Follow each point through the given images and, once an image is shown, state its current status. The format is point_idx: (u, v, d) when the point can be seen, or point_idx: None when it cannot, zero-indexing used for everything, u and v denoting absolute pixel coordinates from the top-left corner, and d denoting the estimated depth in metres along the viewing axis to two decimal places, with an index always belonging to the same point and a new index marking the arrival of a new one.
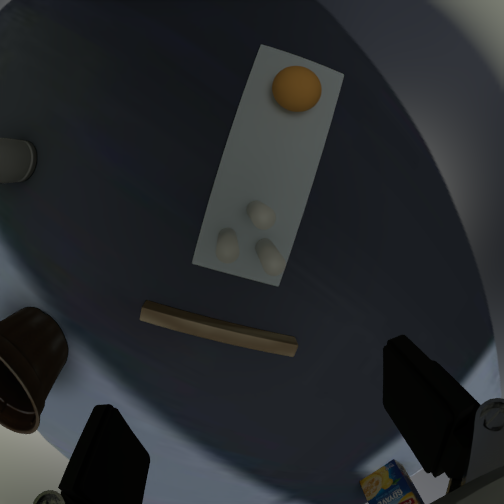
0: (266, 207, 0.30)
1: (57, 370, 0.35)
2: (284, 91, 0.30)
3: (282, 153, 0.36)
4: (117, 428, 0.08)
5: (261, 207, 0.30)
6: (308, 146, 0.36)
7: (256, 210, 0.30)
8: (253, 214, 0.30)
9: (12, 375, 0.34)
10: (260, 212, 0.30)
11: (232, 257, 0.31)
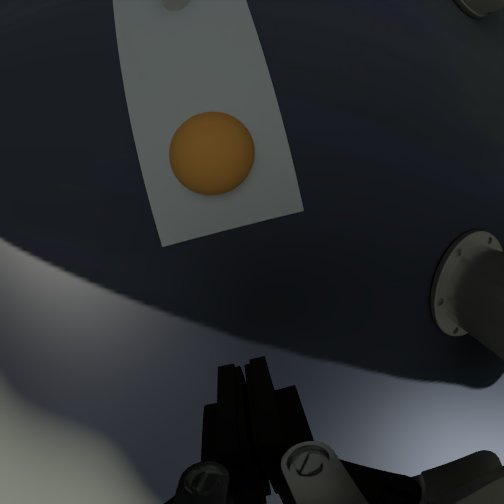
0: None
1: None
2: (227, 120, 0.18)
3: (179, 70, 0.21)
4: (244, 386, 0.09)
5: None
6: (149, 102, 0.21)
7: None
8: None
9: None
10: None
11: None
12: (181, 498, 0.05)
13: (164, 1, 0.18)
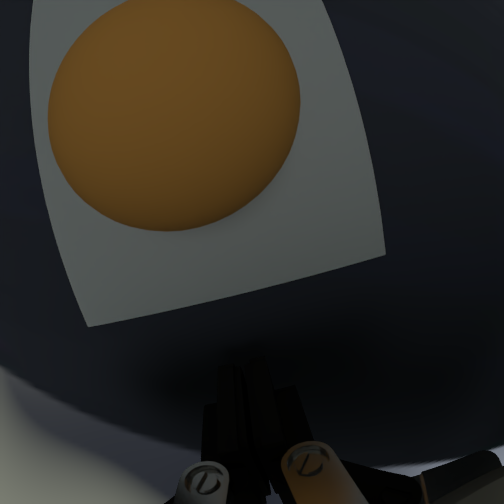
0: None
1: None
2: None
3: None
4: (244, 386, 0.09)
5: None
6: (65, 32, 0.08)
7: None
8: None
9: None
10: None
11: None
12: (181, 498, 0.05)
13: None
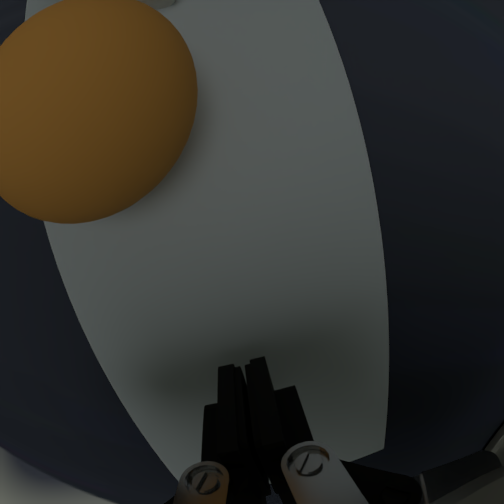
0: None
1: None
2: (154, 169, 0.06)
3: (181, 257, 0.10)
4: (244, 386, 0.09)
5: None
6: (125, 328, 0.10)
7: None
8: None
9: None
10: None
11: None
12: (181, 498, 0.05)
13: None
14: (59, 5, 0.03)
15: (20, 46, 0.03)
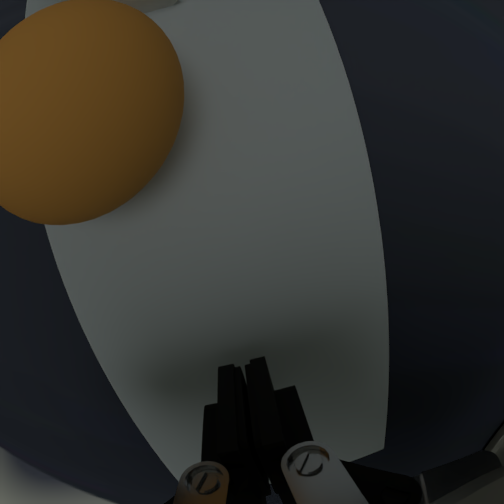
0: None
1: None
2: (132, 171, 0.06)
3: (181, 257, 0.10)
4: (244, 386, 0.09)
5: None
6: (125, 328, 0.10)
7: None
8: None
9: None
10: None
11: None
12: (181, 498, 0.05)
13: None
14: (35, 14, 0.03)
15: None
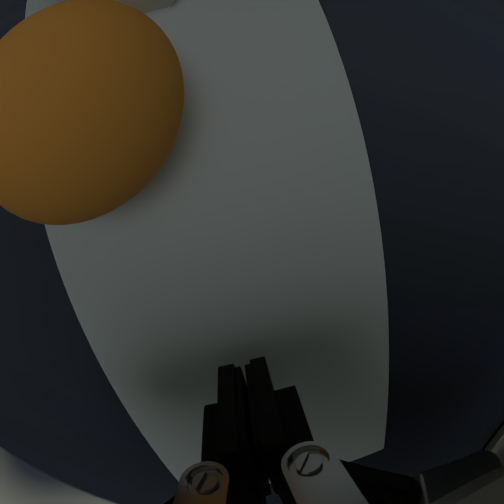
0: None
1: None
2: (132, 171, 0.06)
3: (180, 257, 0.10)
4: (244, 386, 0.09)
5: None
6: (125, 328, 0.10)
7: None
8: None
9: None
10: None
11: None
12: (181, 498, 0.05)
13: None
14: (35, 14, 0.03)
15: None
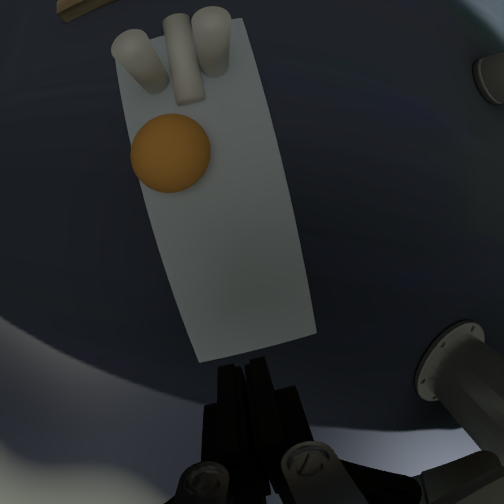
0: (174, 14, 0.18)
1: None
2: (197, 176, 0.20)
3: (206, 210, 0.25)
4: (244, 386, 0.09)
5: (179, 14, 0.19)
6: (179, 242, 0.25)
7: None
8: None
9: None
10: None
11: (199, 18, 0.14)
12: (181, 498, 0.05)
13: (174, 84, 0.21)
14: (165, 124, 0.18)
15: (157, 140, 0.18)
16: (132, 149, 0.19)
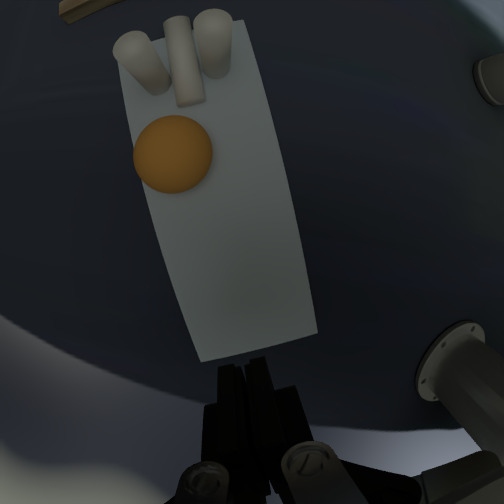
0: (173, 17, 0.19)
1: None
2: (199, 177, 0.21)
3: (208, 210, 0.25)
4: (244, 386, 0.09)
5: (179, 16, 0.19)
6: (181, 243, 0.25)
7: (184, 17, 0.19)
8: None
9: None
10: None
11: (201, 20, 0.14)
12: (181, 498, 0.05)
13: (174, 87, 0.21)
14: (167, 126, 0.18)
15: (159, 141, 0.18)
16: (135, 150, 0.19)
